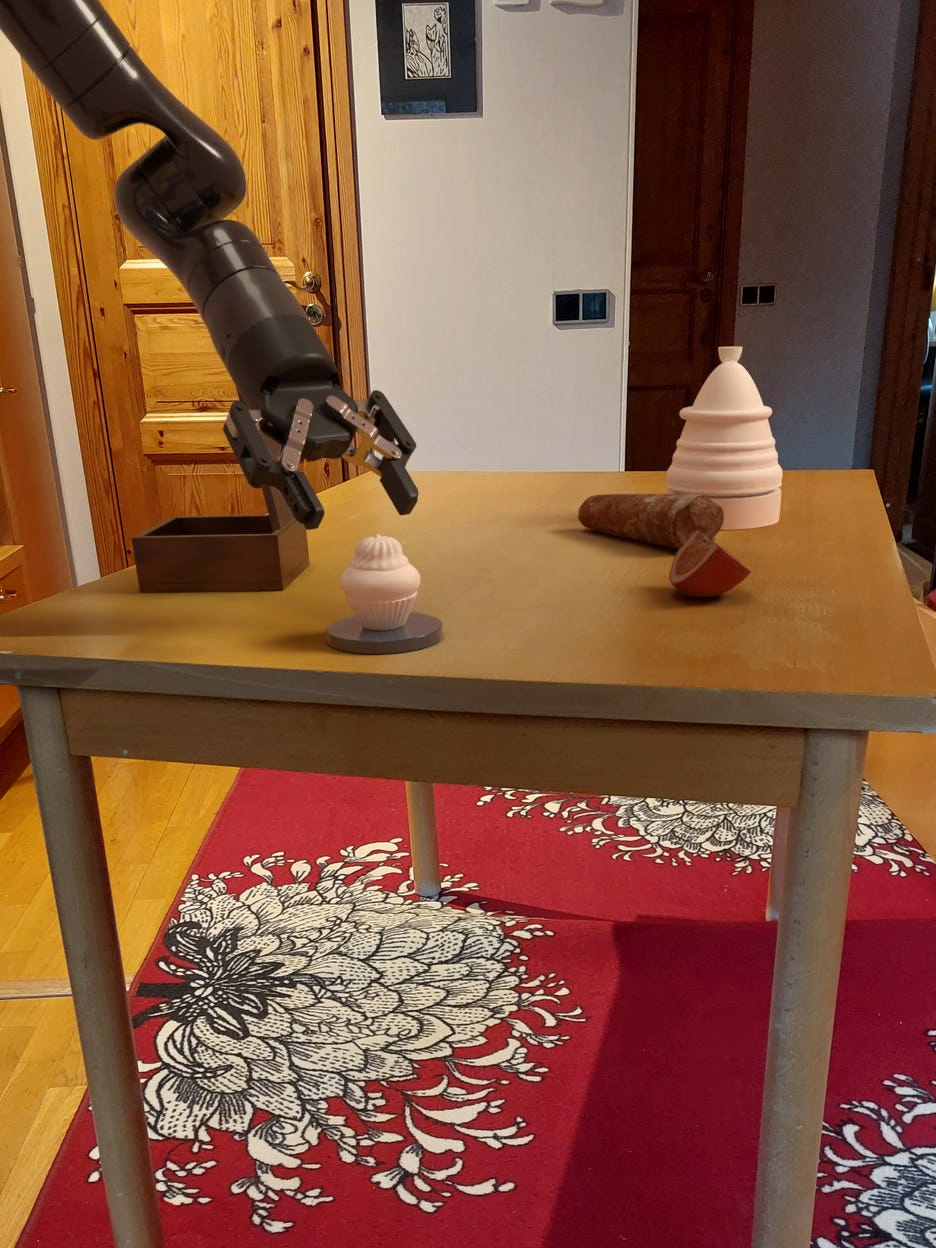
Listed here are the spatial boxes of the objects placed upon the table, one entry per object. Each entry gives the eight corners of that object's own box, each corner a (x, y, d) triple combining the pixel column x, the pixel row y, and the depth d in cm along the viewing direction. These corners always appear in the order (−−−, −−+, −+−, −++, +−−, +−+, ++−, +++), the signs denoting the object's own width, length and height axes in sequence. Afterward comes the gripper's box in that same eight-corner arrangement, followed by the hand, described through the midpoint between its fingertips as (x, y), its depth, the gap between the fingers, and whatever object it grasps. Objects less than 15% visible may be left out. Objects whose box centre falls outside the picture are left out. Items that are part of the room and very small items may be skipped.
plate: (316, 655, 87) (315, 641, 87) (339, 624, 95) (338, 612, 95) (436, 653, 87) (435, 640, 86) (449, 623, 95) (448, 610, 94)
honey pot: (665, 510, 140) (671, 347, 132) (775, 509, 138) (787, 343, 130) (663, 530, 129) (669, 352, 121) (783, 529, 127) (797, 348, 119)
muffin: (439, 622, 91) (435, 530, 88) (386, 640, 87) (379, 544, 84) (381, 612, 95) (375, 523, 92) (327, 628, 90) (318, 536, 87)
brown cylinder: (679, 557, 115) (681, 499, 113) (568, 531, 130) (568, 479, 128) (728, 549, 118) (731, 492, 115) (614, 524, 133) (615, 473, 130)
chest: (139, 592, 109) (131, 537, 107) (178, 566, 119) (171, 516, 117) (283, 590, 108) (277, 535, 105) (309, 564, 118) (305, 513, 116)
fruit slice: (660, 586, 104) (662, 528, 102) (735, 583, 104) (738, 525, 102) (677, 608, 97) (680, 547, 94) (758, 605, 97) (763, 543, 95)
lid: (228, 359, 99) (237, 357, 99) (262, 353, 110) (270, 351, 110) (272, 530, 105) (281, 529, 105) (300, 509, 116) (308, 508, 116)
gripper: (199, 313, 84) (300, 493, 81) (362, 307, 92) (459, 471, 89) (175, 390, 90) (268, 560, 87) (330, 378, 98) (420, 534, 95)
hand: (365, 515), depth 88 cm, fingers open, 8 cm apart
